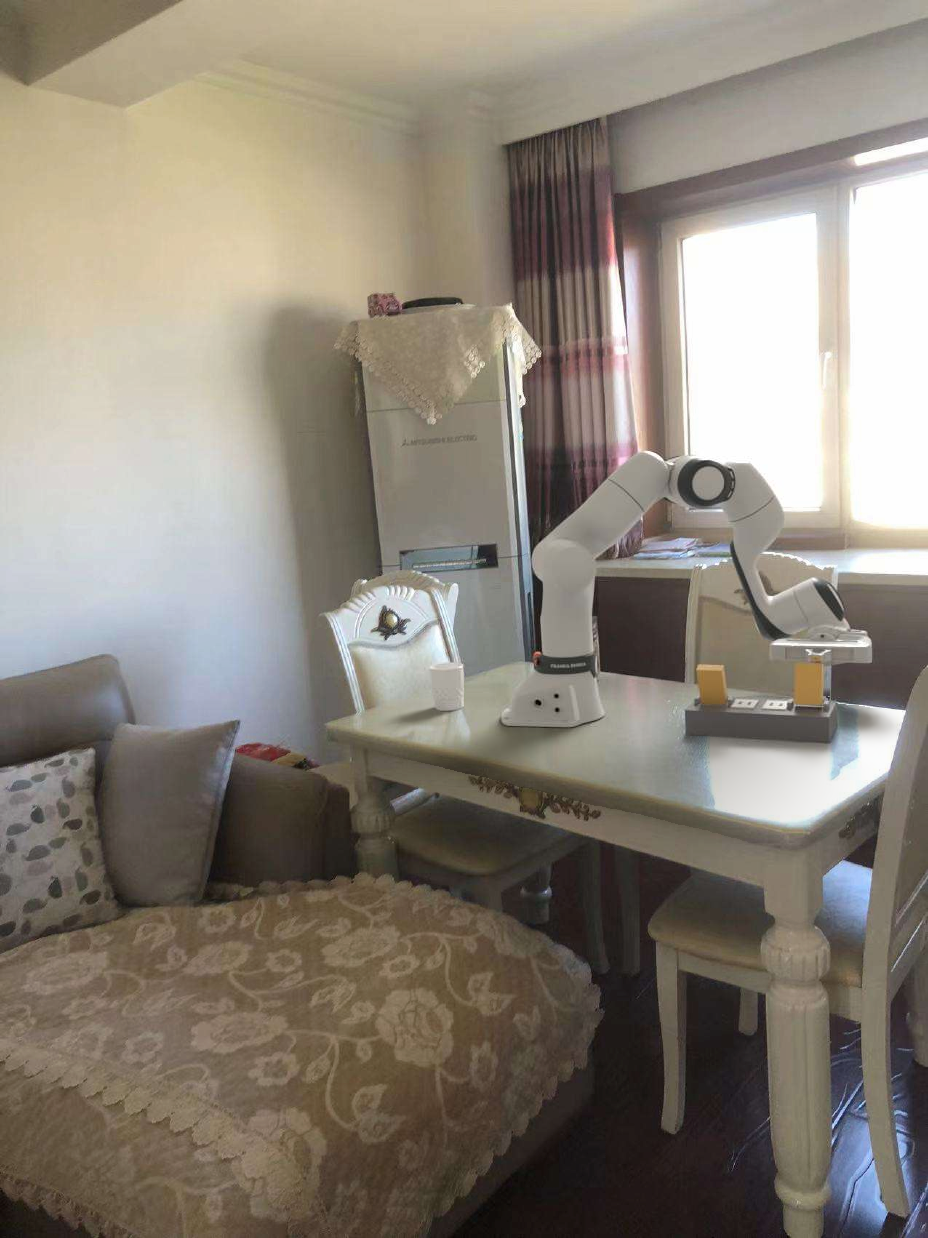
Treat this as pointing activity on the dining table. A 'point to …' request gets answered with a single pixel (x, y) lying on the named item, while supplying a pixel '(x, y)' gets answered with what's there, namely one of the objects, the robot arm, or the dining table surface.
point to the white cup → (447, 685)
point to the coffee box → (596, 644)
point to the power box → (762, 719)
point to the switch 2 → (808, 684)
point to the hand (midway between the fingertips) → (815, 658)
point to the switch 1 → (712, 684)
